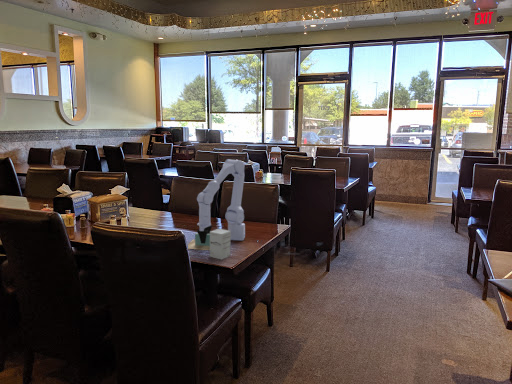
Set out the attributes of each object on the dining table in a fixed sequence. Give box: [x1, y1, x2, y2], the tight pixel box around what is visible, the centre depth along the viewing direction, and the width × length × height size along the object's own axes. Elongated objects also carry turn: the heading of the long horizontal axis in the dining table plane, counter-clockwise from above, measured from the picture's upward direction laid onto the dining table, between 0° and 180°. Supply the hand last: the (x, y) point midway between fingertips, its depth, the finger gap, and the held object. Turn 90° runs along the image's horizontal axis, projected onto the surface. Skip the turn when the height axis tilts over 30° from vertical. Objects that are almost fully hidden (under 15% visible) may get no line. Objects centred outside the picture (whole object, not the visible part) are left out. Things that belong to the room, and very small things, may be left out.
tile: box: [194, 232, 210, 246], centre depth 194 cm, size 10×2×6 cm, turn 84°
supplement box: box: [209, 228, 231, 260], centre depth 178 cm, size 7×7×13 cm
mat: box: [187, 238, 210, 252], centre depth 196 cm, size 16×16×1 cm
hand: (204, 241), depth 194 cm, fingers open, 7 cm apart
